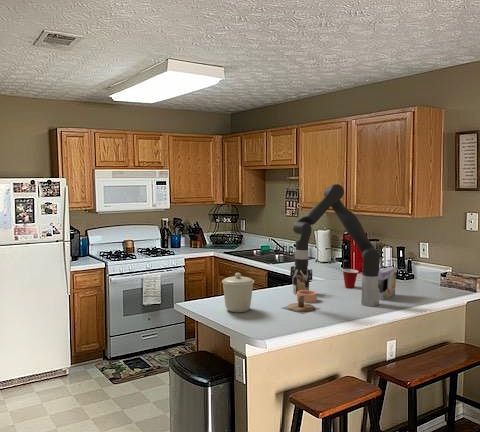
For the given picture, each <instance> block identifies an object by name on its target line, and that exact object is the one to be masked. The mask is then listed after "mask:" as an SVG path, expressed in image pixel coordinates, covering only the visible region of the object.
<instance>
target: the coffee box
mask: <svg viewBox="0 0 480 432" xmlns="http://www.w3.org/2000/svg"><path fill="white" fill-rule="evenodd" d="M295 272H296V270H295ZM305 281H306V280H305V278H303V276H300V275H298V276H297V285H294V284H293V283H292V293H293V295H295V294H297V291H301V290H310V286H309V287H308V288H305Z"/></svg>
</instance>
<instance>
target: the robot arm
mask: <svg viewBox="0 0 480 432" xmlns="http://www.w3.org/2000/svg"><path fill="white" fill-rule="evenodd" d="M344 195H345V189H344V187H343V186H342V185H341V184H340V183H339V184H338V183H335V184H332V185H331V186H328V187H326V188H325V189H324V192H323V197H324V198H323V199H322V200H320V201H319V202H317V204H315V205H314V206H313V207H312V208H311V209H310V210H309V211H308V212H307V213H306V214H305V215H304V216H302V217H300V218H299V219H298V220H297V221H295V223H294V224H293V226H292V227H293V228H292V229H293V232H294V233H295V234H297V235H300V238H297V239H296V240H295V251H294V265H292V266H290V274H289V277H291V278H292V285H293V284H294V285H297V276H298V275H300V276H303V278H305V280H306V281H305V288H308V287H309V288H310V281H313V269H312V268H311V269H309V268H308V267H309V241H310V239H311V235H312V231H313V230H312V229H313V228H312V226H313V225H315V224H316V223H317V222H318V221H319V220H320V219H321V218H322V216H323V215H324V214H325V213H326V212H327V211H328V210H329V208H331V209H332V210H333V211H334V213H335V215H336V216H337V218H338V219H339V221H340V222H341V224H342V226H343V228H344V229H345V231H346V232H347V234H348V235H349V237H350V238H351V239H352V240H353V242H354V243H355V244H356V246H357V248H358V250H359V252H360V254H361V256H362V269H361V271H362V272H361V274H362V275H361V305H363V306H367V307H375V306H379V305H380V300H379V292H380V289H379V288H378V275H379V270H380V261H381V259H380V258H381V257H380V253H379V251H378V249H377V248H375V246H374V245H373V244H372V243H371V241H370V240H369V238H368V236H367V234H366V232H365V230H364V227H363V226H362V223H361V222H360V220H359V218H358V216H356V214H355V213H353V212H352V211H351V210H349V209H348V208H347V206H345V204H344V203H342V201H341V199H342V198H343V197H344ZM295 270H296V272H295Z"/></svg>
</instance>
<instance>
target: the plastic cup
mask: <svg viewBox="0 0 480 432" xmlns="http://www.w3.org/2000/svg"><path fill="white" fill-rule="evenodd" d="M341 271H342V273H343V282H344V286H345V287H344V288H345V289H354V288H355V285H356V281H357V276H358V273H359V270H357V269H351V268H342V270H341Z"/></svg>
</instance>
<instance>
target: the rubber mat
mask: <svg viewBox="0 0 480 432" xmlns="http://www.w3.org/2000/svg"><path fill="white" fill-rule="evenodd" d="M281 309H283V310H286V311H290V312H293V313H294V312H295V313H297V314H302V315H304V314H308V313H312V312H315V311H319V310H321V307H316V306H314V310H313V311H310V312H296V311H291V310H289V309H288V305H287V306H283V307H281Z"/></svg>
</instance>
